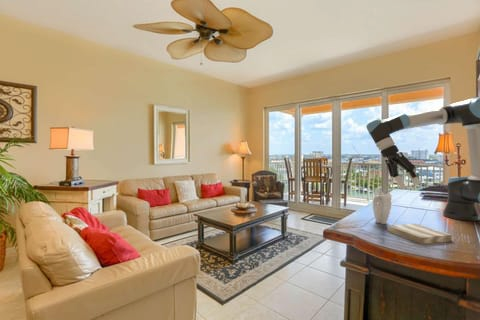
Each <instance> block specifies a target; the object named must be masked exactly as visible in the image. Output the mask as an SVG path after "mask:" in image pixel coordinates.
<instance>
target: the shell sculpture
mask: <svg viewBox="0 0 480 320" xmlns="http://www.w3.org/2000/svg"><path fill="white" fill-rule="evenodd" d="M374 189H375V192H374V194H375V195H374V197H373V199H372V211H373V216H374V220H375V223H377V224H383V225H384V224H386V223H388V219H389V216H390V213H391V209H392V195H391V192H388V193H384V192H382V190H381V188H380V187H375V188H374Z"/></svg>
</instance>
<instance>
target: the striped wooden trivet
mask: <svg viewBox="0 0 480 320" xmlns="http://www.w3.org/2000/svg"><path fill="white" fill-rule="evenodd" d="M387 232H388V233H391V234H394V235H397V236H399V237H402V238H404V239H407V240H409V241H412V242H414V243H418V244H420V245H426V244H434V243H445V242H452V238H453V237H452V234H451V233H447V232H444V231H440V230H438V229H433V228H430V227H427V226H424V225H421V224H419V223H409V224H396V225H395V224H394V225H388V226H387Z"/></svg>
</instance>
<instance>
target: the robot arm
mask: <svg viewBox="0 0 480 320" xmlns="http://www.w3.org/2000/svg"><path fill="white" fill-rule="evenodd" d="M448 124H450V125H451V124H461V125H462V126H461V127H463V128H465V130H466V135H467V144H468V146H467V147H468V156H469V165H470V176H450V177H449V178H448V181H447V203H446V204H445V207H444V209H443V211H442V213H443V214H442V215H443V216H444V217H447V218H451V219H453V220H460V221H468V222H475V221H476V222H477V221H480V214H479V212H478V209H477V206H476V203H477V204H480V96H477V97H474V98H469V99H465V100H461V101H458V102H454V103H451V104H448V105H446V106H442V107H437V108H436V109H435V110H429V111H424V112H420V113H419V112H418V113H414V114H413V113H412V114H408V115H407V114H406V113H401V114H397V115H394V116H392V117H389V118H385V119H380V118H376V119H373V120H372V121H369V123H367V124H366V126H365V127H366V130H367V132H368V134H369V136H370V137H371V138H372V140H373V142H374V144H375V147H377V149H378V150H379V151H380V154H381V156H382V158H385V159H384V162H385V164H386V167H387V170H388V173H389V176H390V177H391V178H393V179H394V181H395V182H396V183H397V185H398V187H399V189H400V190H402V189H405V188H407V185H406V184H405V182H404V180H403V179H402V177H401V174H399V171H398V166H400V167H401V168H402V169H404V171H406V174H407V176H408V177H409V180H411V182H412V184H413V185H414V186H417V185H420V184H422V182H421V180H420V178H419V177H418V176H417V174H416V172H415V171H414V169H416V166H415V165H414V164H413V163H412V162H411V161H410V160H409V159H408V158H407V157H406V156H405V155H404V154H403V152H402V151H400V150H399V148H398V146H397V145H396V143H395V142H394V140H393V138H392V136H391V134H393V133H394V134H395V133H396V132H399V131H403V130H404V131H405V130H408V129H414V128H420V127H425V126H431V125H440V126H442V125H448ZM399 151H400V152H399Z"/></svg>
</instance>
